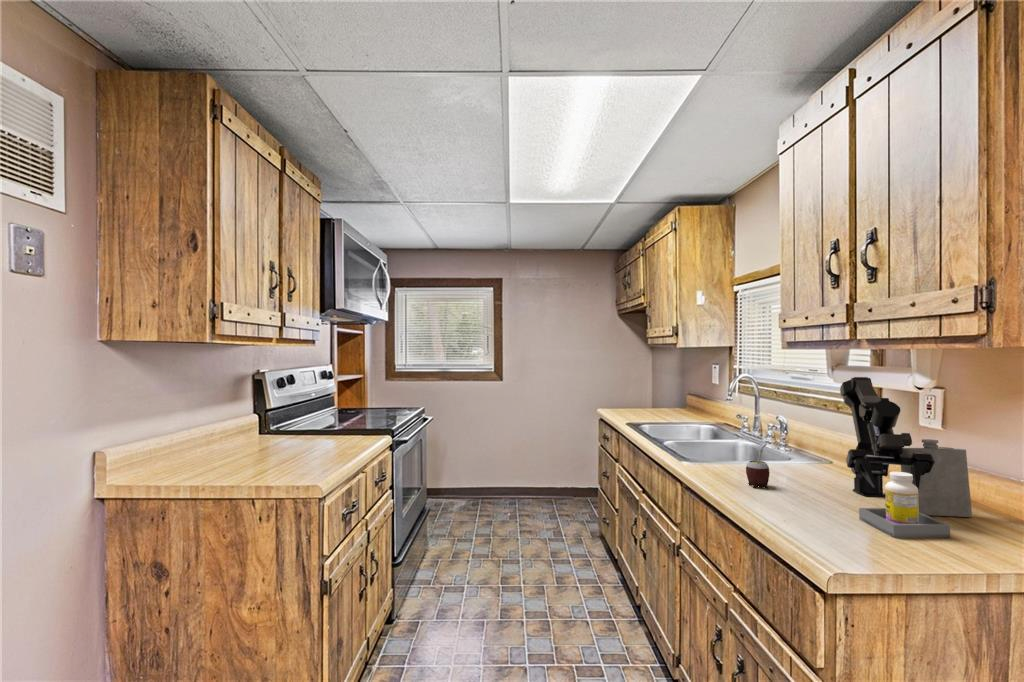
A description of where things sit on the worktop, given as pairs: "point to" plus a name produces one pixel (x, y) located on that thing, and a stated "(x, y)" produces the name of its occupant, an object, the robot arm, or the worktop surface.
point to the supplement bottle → (901, 499)
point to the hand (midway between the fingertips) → (895, 488)
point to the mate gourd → (758, 472)
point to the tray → (905, 525)
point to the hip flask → (942, 481)
